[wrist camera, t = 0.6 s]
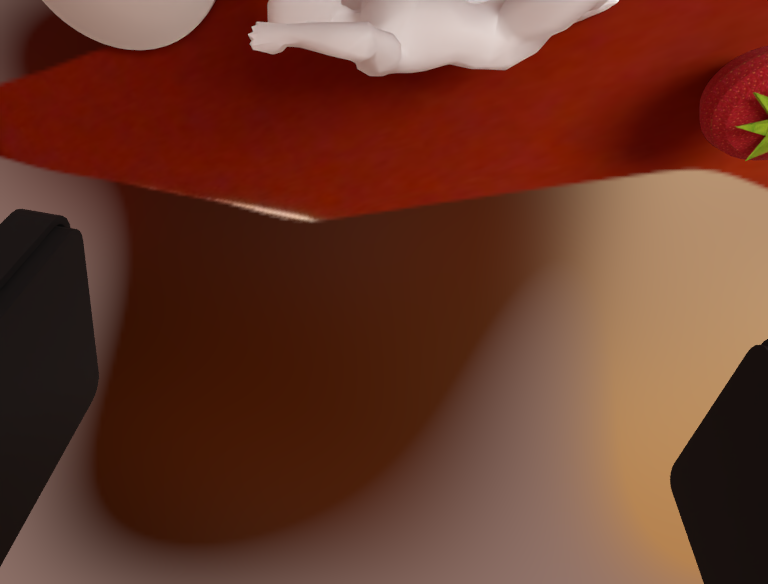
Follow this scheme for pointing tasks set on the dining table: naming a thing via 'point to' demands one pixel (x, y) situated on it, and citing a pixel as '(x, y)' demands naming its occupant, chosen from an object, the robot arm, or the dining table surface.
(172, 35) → the ceramic coaster
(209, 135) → the dining table surface
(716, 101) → the strawberry
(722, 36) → the dining table surface
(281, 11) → the person figurine
